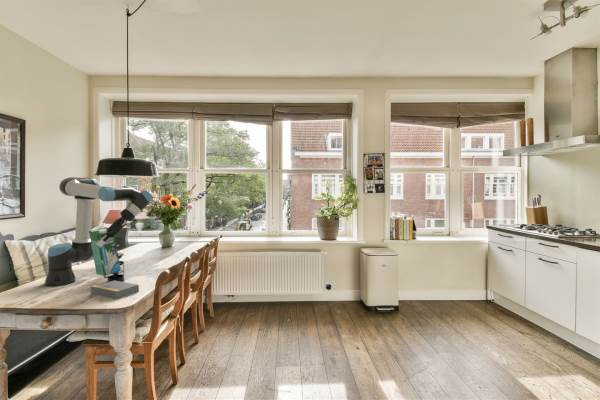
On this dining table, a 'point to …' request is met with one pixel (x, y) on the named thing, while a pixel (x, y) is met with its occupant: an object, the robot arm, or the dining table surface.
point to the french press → (115, 275)
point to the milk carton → (104, 253)
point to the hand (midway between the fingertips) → (97, 245)
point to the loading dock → (114, 289)
